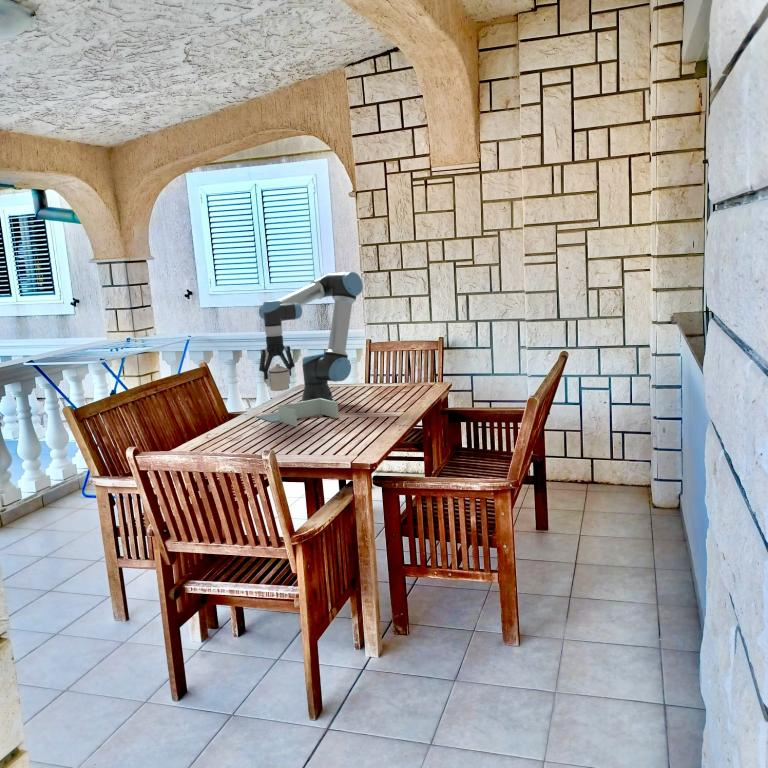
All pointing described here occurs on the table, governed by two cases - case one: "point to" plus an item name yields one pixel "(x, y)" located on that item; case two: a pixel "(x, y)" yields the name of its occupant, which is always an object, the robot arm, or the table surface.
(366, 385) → the table surface
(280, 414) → the bent sage-green plate
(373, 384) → the table surface
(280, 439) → the table surface
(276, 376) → the teacup with lid
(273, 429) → the table surface
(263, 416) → the mat
